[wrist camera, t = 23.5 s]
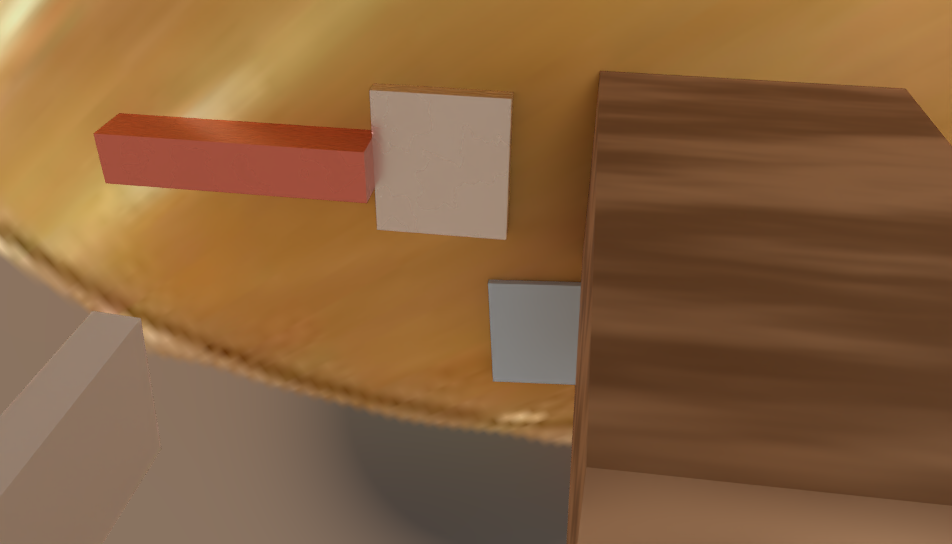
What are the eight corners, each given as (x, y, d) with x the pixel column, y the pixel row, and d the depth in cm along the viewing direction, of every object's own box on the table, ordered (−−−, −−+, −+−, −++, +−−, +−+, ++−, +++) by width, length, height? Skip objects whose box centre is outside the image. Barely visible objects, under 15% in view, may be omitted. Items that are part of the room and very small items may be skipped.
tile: (489, 275, 56) (487, 283, 55) (614, 278, 55) (614, 286, 54) (494, 372, 60) (493, 381, 59) (610, 376, 59) (610, 386, 58)
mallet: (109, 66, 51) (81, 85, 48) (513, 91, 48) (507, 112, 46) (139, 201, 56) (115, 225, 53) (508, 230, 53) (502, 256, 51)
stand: (600, 71, 47) (586, 467, 22) (905, 88, 45) (1267, 539, 20) (582, 258, 54) (556, 729, 28) (849, 279, 52) (1071, 800, 27)
